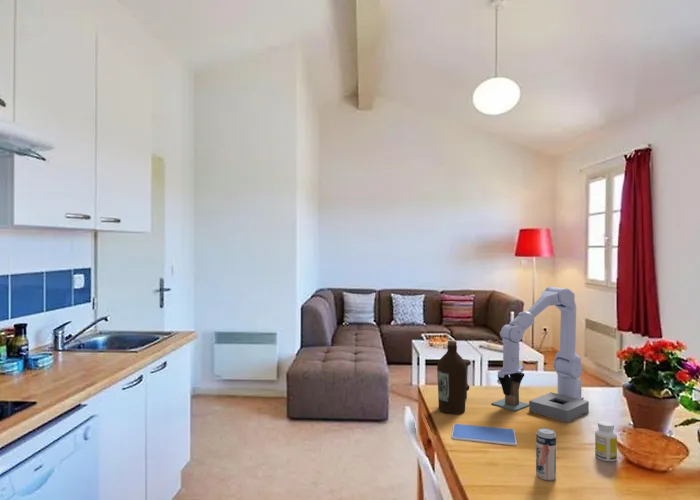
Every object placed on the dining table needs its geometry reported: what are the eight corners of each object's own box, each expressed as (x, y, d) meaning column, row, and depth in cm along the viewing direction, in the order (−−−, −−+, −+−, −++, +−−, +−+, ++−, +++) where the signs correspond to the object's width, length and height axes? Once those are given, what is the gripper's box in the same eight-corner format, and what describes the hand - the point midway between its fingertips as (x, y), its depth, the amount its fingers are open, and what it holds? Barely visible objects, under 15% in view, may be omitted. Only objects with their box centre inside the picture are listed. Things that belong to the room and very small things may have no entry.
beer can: (532, 473, 125) (532, 427, 125) (550, 472, 126) (550, 427, 125) (541, 482, 120) (541, 434, 120) (559, 481, 121) (560, 434, 121)
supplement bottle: (614, 455, 136) (615, 421, 136) (618, 463, 131) (618, 427, 131) (593, 452, 138) (593, 418, 138) (596, 460, 133) (596, 425, 133)
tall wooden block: (510, 401, 182) (510, 380, 182) (518, 404, 179) (518, 382, 179) (505, 403, 179) (504, 382, 179) (513, 406, 177) (513, 384, 177)
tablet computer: (450, 441, 147) (451, 436, 147) (453, 426, 159) (453, 422, 159) (517, 448, 142) (517, 443, 142) (514, 432, 154) (514, 428, 154)
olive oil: (455, 403, 181) (455, 337, 180) (472, 412, 171) (473, 343, 171) (431, 407, 176) (431, 339, 176) (447, 416, 167) (448, 345, 167)
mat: (506, 399, 187) (506, 397, 187) (530, 405, 179) (530, 404, 179) (491, 404, 180) (491, 403, 180) (515, 411, 173) (515, 410, 173)
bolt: (469, 397, 189) (469, 359, 189) (471, 401, 184) (471, 362, 184) (454, 396, 190) (454, 358, 189) (455, 400, 184) (456, 361, 184)
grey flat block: (551, 402, 183) (551, 392, 183) (588, 411, 172) (588, 401, 172) (529, 411, 173) (529, 400, 173) (567, 422, 162) (567, 410, 162)
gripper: (510, 362, 172) (509, 399, 172) (531, 356, 181) (530, 392, 181) (492, 358, 177) (492, 395, 177) (514, 353, 186) (514, 387, 187)
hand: (510, 393), depth 180 cm, fingers open, 5 cm apart
